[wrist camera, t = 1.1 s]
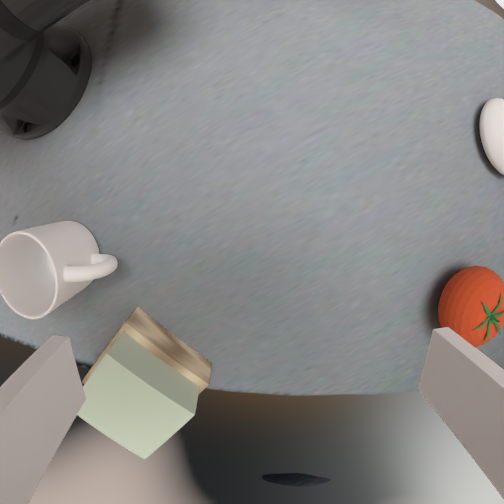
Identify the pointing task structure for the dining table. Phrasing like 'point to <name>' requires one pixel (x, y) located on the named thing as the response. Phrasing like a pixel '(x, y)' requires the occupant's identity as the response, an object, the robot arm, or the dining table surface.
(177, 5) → the dining table surface
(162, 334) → the tower base
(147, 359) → the tower top
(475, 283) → the tomato
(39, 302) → the mug
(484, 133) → the flower in vase
